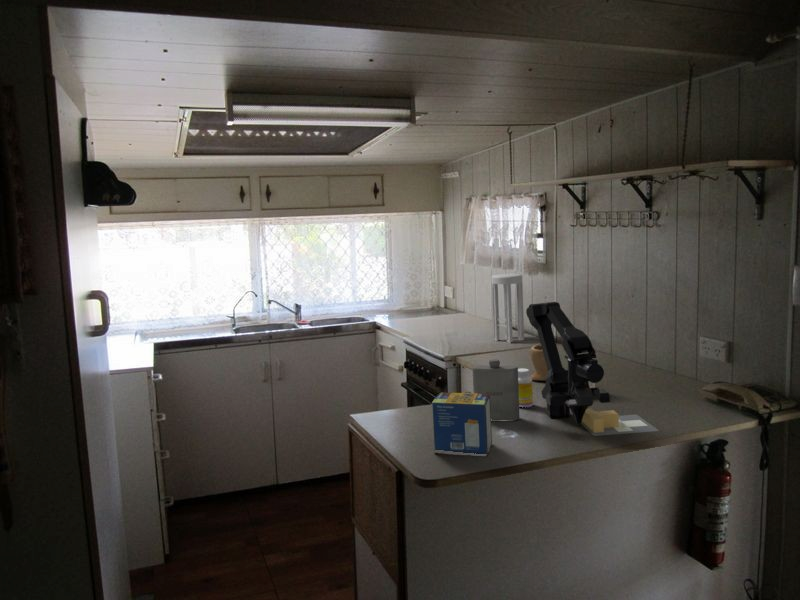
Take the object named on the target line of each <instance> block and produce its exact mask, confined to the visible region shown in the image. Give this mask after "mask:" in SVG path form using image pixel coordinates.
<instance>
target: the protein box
mask: <svg viewBox="0 0 800 600" xmlns="http://www.w3.org/2000/svg"><path fill="white" fill-rule="evenodd" d="M431 405H432V406H431V408H432V427H433V428H432V429H433V447H434V448H433V449H434V450H444V451H453V452H463V453H474V454H475V453H476V454H487V452H488V450H489V448H490V446H491V447H492V445H493V436H492V435H493V433H492V421H491V408H490V394H478V393H473V392H470V393H467V392H439V394H438V395H437V396H435V398H434V399H433V401H432V402H431ZM491 444H492V445H491ZM490 449H491V448H490ZM489 451H490V450H489ZM488 453H489V452H488Z"/></svg>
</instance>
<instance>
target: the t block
mask: <svg viewBox="0 0 800 600" xmlns="http://www.w3.org/2000/svg"><path fill="white" fill-rule="evenodd" d="M619 416H620V415H619V413H618V412H616V411H615V410H613V409H612V410H600V411H598V410H597V411H595V410H593V408H590V407H589V408H587V409H586V411H585V413H584V416H583V418H582V422H583V423H584V424H585V425H586V426H588V427H589V428H590V429H591V430H592V431H593V432H594V433H597V432H604V428H609V427H619Z"/></svg>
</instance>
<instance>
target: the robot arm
mask: <svg viewBox="0 0 800 600" xmlns="http://www.w3.org/2000/svg"><path fill="white" fill-rule="evenodd" d="M525 313H526V316H527V318H528V321H529V323H530V325H531V326H532V327H533V328H534V329H535V330H536V331H537V336H538V338H539V344H541V347H542V350H543V354H544V358H545V362H546V365H547V369H548V373H547V376H546V379H545V385H544V387H543V388H542V389H541V396H542V397H541V398H542V399H544V400H545V401H546V411H545V415H546V416H547V417H548V418H549V419H551V420H558V419H559V420H560V419H570V418H571V416H570V414H571V413H572V415H573V418H574V421H575V424H576V425H582V424H581V421H582V418H583V416H584V413H585V411H586V409H589V408H590V407H592V406H593V405H594V401H599V402H600V403H601V404H604V403H611V402H612V396H611V394H610V392H608V391H607V390H605V389H604V388H599V387H597V386H596V387H595V388H590V387H589V382H592V383H595V384H597V383H599V382H601V381H602V379H604V376H605V370H604V367H603V366H602V365H601V364H599V363H598V362H599V360H598V359H597V354H596V349H595V348H594V346H593V344H592V341H591V339H590V338H589V336H588V335H587V334H586V333H585V332H584V331H583V330H581V329H578V328H576V327H575V325H574V324H573V323H572V322H571V321H570V319H569V318H568V317H567V315H566V314H565V312H564V311H563V310H562V308H561V305H560V303H559V302H557V301H550V302H549V301H548V302H540V303H530V304H529V306H528V307H527V308H526V309H525ZM552 325H553V327H554V328H555V330H556V331H557V333H558V334H559V336H560V337H561V346H562V348H563V350H564V352H565V353H566V354H565V355H564V359H566V360H567V370H566V369H565V367H563V364H562V361H561V357H560V353H559V349H558V346H557V342H556V337H555V335H554V331H553V329H552ZM588 381H589V382H588Z"/></svg>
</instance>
